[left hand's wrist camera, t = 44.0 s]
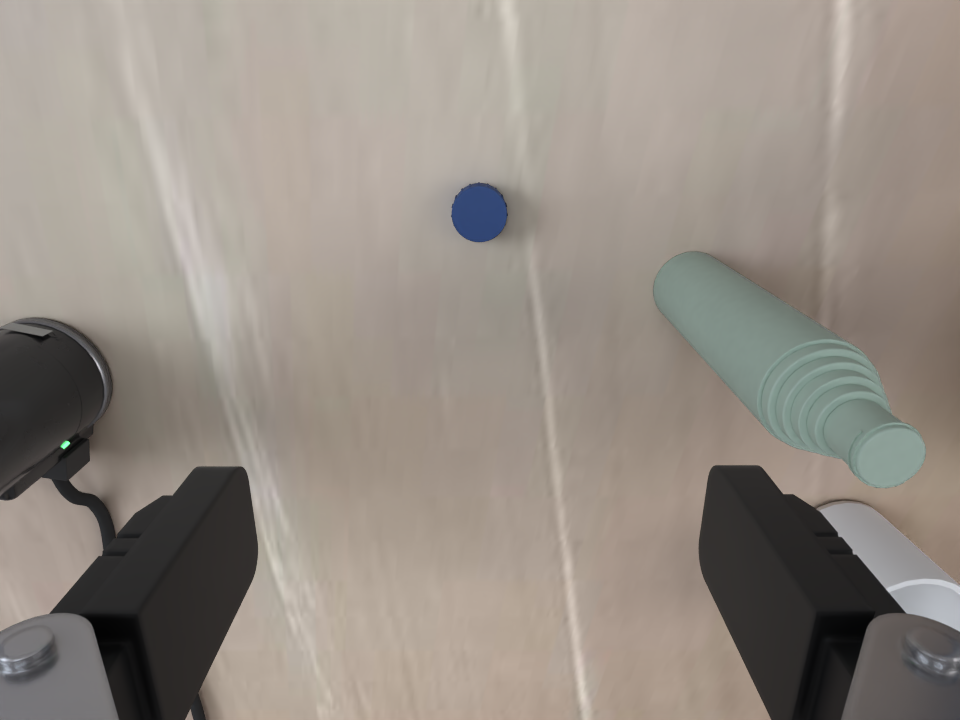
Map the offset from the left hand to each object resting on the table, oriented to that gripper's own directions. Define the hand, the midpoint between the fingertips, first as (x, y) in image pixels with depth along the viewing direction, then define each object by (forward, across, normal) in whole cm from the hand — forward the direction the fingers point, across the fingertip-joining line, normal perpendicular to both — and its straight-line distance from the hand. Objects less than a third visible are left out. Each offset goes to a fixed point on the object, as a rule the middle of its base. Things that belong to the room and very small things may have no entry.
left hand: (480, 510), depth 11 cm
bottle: (+37, +15, -6) cm, 40 cm away
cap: (+35, 0, 0) cm, 35 cm away
